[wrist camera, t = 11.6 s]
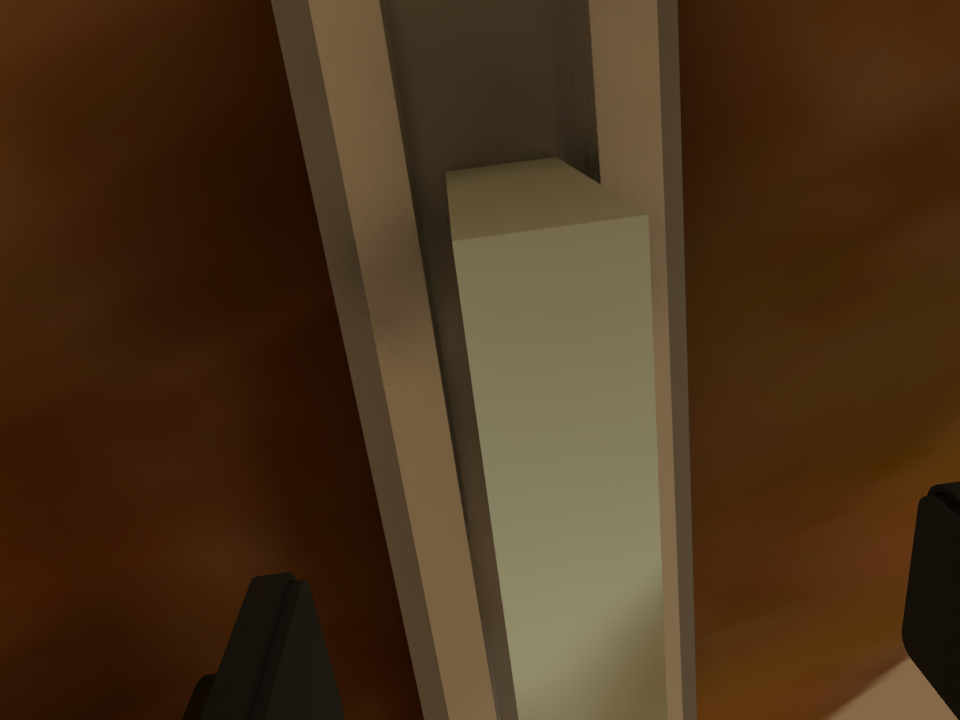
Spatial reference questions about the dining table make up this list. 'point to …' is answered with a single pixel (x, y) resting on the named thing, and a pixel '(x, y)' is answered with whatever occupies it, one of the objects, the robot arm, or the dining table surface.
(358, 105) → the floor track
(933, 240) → the dining table surface
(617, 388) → the door panel
